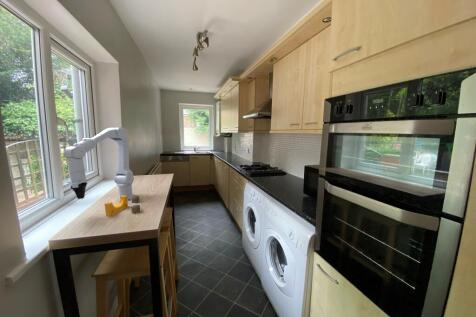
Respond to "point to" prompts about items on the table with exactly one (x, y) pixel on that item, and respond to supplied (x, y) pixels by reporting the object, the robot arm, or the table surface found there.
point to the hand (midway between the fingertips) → (81, 198)
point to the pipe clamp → (116, 206)
